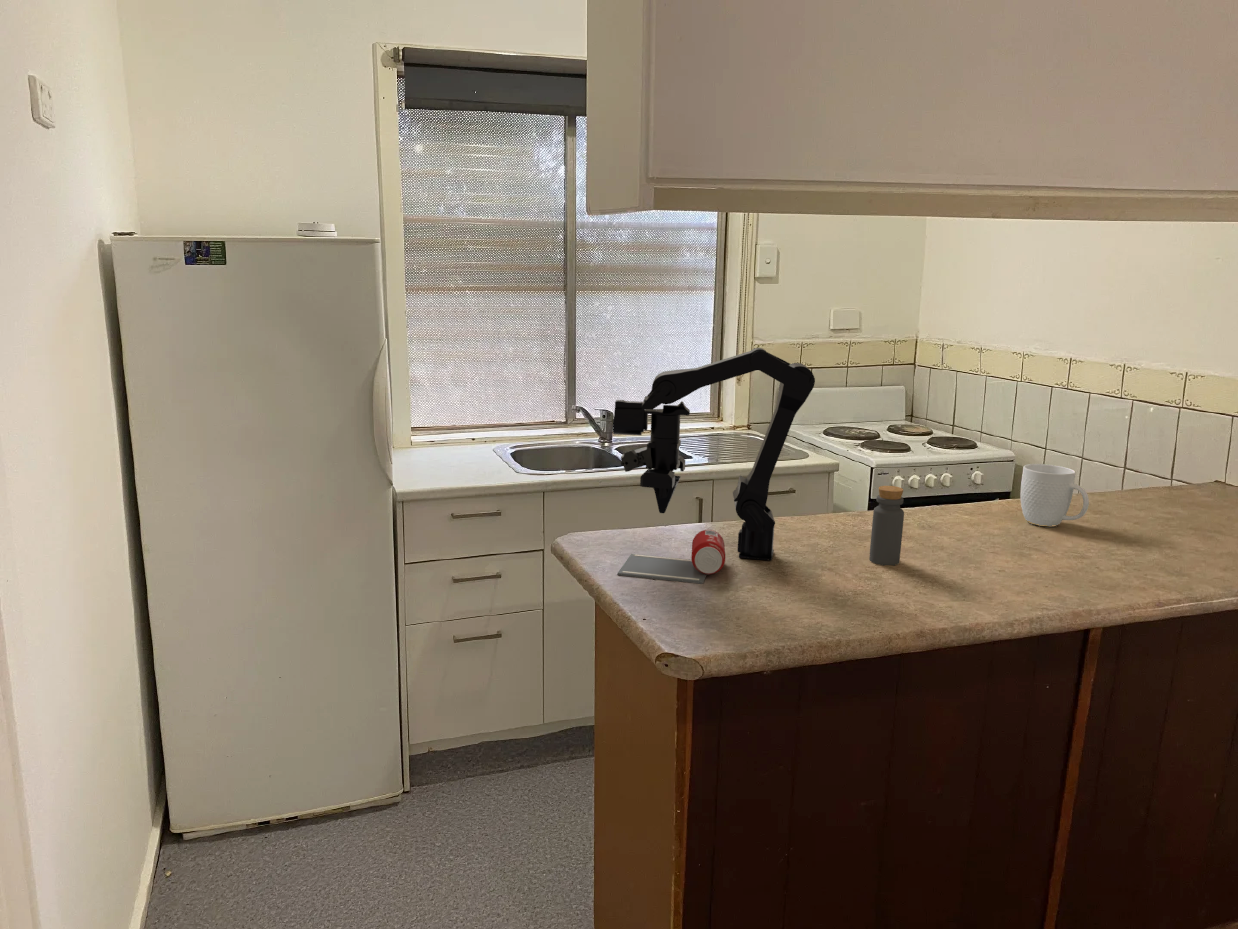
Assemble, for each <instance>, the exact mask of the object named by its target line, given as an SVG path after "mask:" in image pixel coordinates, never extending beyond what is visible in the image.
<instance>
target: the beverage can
mask: <svg viewBox="0 0 1238 929" xmlns="http://www.w3.org/2000/svg"><path fill="white" fill-rule="evenodd" d="M723 538H724V537H723V536H722V535H721V534H720V533H719V532H718V531H715V530H713V529H704V530H701V531H699V532H698V533H696V534H695V536H694V537H693V539H692V543H691V557H690V558H691V559H690V560H692V564H693V566H694V567H695V569H696V570H698V571H699V572H701V573H703V574H707V575H714V574H716V573H718V572H720V571H721V570H722V569H723V568H724V566H725V563H726V547H725V541H724V539H723Z"/></svg>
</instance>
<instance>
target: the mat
mask: <svg viewBox="0 0 1238 929" xmlns="http://www.w3.org/2000/svg"><path fill="white" fill-rule="evenodd" d="M707 575H708V574H703V573H701V572H699V571H698V570H696V569H695V567H694V566H693V564H692V559H687V558H677V557H668V556H658V555H647V554H636V553H630V555H629V556H628V558H627V559H626V560H625V562H624V563H623V565H622V566H621V567H620V569H619V570H618V572H617V576H623V577H633V578H635V577H636V578H642V579H653V580H665V581H672V582H681V583H682V582H683V583H690V584H691V583H693V584H703V585H704V582H705V580H706V578H707Z"/></svg>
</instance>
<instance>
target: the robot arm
mask: <svg viewBox="0 0 1238 929" xmlns="http://www.w3.org/2000/svg"><path fill="white" fill-rule="evenodd" d="M755 371H760V372H762V373H763V374H765V375H767V376H769V377H770V378H772V379H773V380H775V381H777V382H779V386H778V392H777V393H778V394H777V401H776V406H775V409H774V410H773V411H774V412H773V413H772V416H771V420H770V422H769V425H768V427H767V429H766V433H765V435H764V437H763V440H762V442H761V445H760V447H759V450H758V452H757V455H756V458H755V461H754V463H753V465H752V469H751V470H750V472H749V473H748V475H746V477H744V476H743V475H739V476H738V480H737V485H736V487H735V489H734V490H733V491H732V497H733V502H734V508H735V512H736V514H737V517H738V518H740V519H741V520H742V521H743V522H742V524H741V529H739V531H738V533H737V534H738V536H737V537H738V538H737V553H739V554H738V558H740V559H749V560H757V561H758V560H760V561H772V560H773V557H774V552H775V550H774V537H775V536H774V535H775V525H776V521H775V518H774V514H773V512H772V510H771V509H770V508H769V506H767V501H768V496H769V490H770V481H771V478H772V475H773V473H774V471H775V467H776V465H777V462H778V460H779V458H780V455H781V453H782V450H783V447H784V444H785V441H786V440H787V436H788V434H789V432H790V429H791V426H792V424H793V422H794V420H795V419H794V418H795V417H796V414H797V413H798V411H799V410H800V409H801V408H802V406H803V405H804V403H805V402H806V400H807V399H808V397H809V395H811V392H812V391H813V389H814V387H815V385H816V384H815V383H816V378H815V375H814V373H813V372H812V371H811V369H809V368H808V367H807V365H805V364H803V363H801V362H794V363H793V362H792V363H790V362H789V361H786V360H784V359H782V358H780V357H778V356H776V355H774V354H772V353H770V352H769V351H767V350H765V349H764V348H763V347H754V348H753V349H751V350H749V351H746V352H742V353H740V354H739V353H738V354H737V355H736V354H735V355H733V356H729V357H727V358H723V359H720V360H717V361H714V362H710V363H708V364H704V365H701V366H698V367H694V368H692V367H691V368H682V369H679V368H678V369H673V370H667V371H662V372H660V373H658V374H657V375H656V376H655V377H654V378H653V381H652V385H651V391H649V393H648V394H647V395H645V396H644V397H643V401H631V400H629V401H628V400H624V399H616V400H615V403H614V411H613V413H614V414H613V418H612V434H613V435H617V436H618V435H620V436H621V435H623V436H624V435H625V436H642V434H643V433H644V432H645V431H648V425H649V415H650V416H651V417H650V440H649V442H647V444H646V446H645V447H641V448H637V449H630V450H629V451H627V450H625V451H624V453H623V454H622V455H621V456H620V460H621V461H620V464H621V466H622V467H623V469H624V471H625V472H631V471H632V470H634V469H639V468H642V467H645V469H646V470H645V471H644V472H643V473H642V474H641V475H640V476H639V477H640V482H639V485H640V487H642V488H652V489H653V490H654V491H653V492H654V496H655V499H656V502H657V508H658V512H659V514H665V513H666V511H667V509H668V507H669V504H670V502H671V499H672V497H673V495H674V493H675V491H676V488H677V486H678V484H679V481H680V480H681V476H680V475H675V473H676V472H675V471H677V470H678V469H680V472H684V471H685V469H686V459H685V458H684V457H683V456H682V455H680V446H682V440H681V439H680V436H681V435H680V431H681V416H690V414H691V410H690V408H688V407H687V406H686V405H685V403H684V401H680V400H681V399H683V398H685V397H687V396H688V395H690V394H692V393H694V392H695V391H697V390H699V389H701V388H704V387H707V386H710V385H714V384H716V383H720V382H723V381H726V380H730V379H733V378H736V377H739V376H743V375H745V374H749V373H752V372H755ZM677 401H680V402H679V403H678V404H677V405H674V403H676V402H677ZM671 404H673V405H671ZM660 405H662V408H657V407H658V406H660Z"/></svg>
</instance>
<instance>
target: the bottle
mask: <svg viewBox="0 0 1238 929" xmlns="http://www.w3.org/2000/svg"><path fill="white" fill-rule="evenodd" d="M903 493H904V489H903V488H902V487H900V486H896V485H895V486H894V485H881V486H879V487H878V495H877V496H876V498H875V499H876V503H878V505H877V506H876V507H875V506H874V508H873V512H872V513H873V514H872V524H871V534H870V546H869V556H868V557H869V562H871V563H873V564H876V565H879V566H885V565H893V566H896V565H895V564H897V565H899V564H900V559H901V550H902V541H903V540H902V539H903V530H904V519H905V511H904V510H903V509H902V508H901V505H903V504H904V501H905V500H904V499H905V498H903V497H902V496H903Z"/></svg>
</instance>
